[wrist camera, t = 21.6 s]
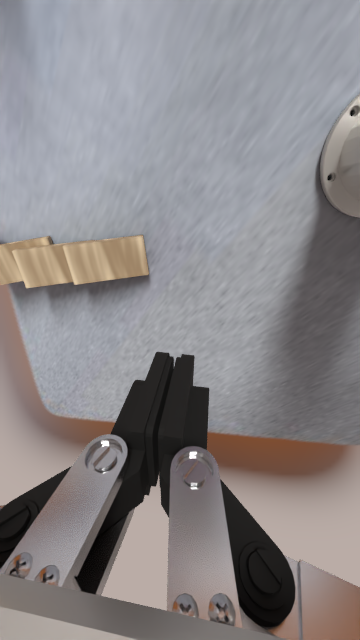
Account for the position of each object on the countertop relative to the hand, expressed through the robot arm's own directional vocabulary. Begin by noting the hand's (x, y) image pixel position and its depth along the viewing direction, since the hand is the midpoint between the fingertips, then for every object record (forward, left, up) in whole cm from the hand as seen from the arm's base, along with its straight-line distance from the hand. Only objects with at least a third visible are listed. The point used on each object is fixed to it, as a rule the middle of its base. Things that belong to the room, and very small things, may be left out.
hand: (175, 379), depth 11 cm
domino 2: (+12, +9, -24) cm, 28 cm away
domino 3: (+6, +5, -24) cm, 25 cm away
